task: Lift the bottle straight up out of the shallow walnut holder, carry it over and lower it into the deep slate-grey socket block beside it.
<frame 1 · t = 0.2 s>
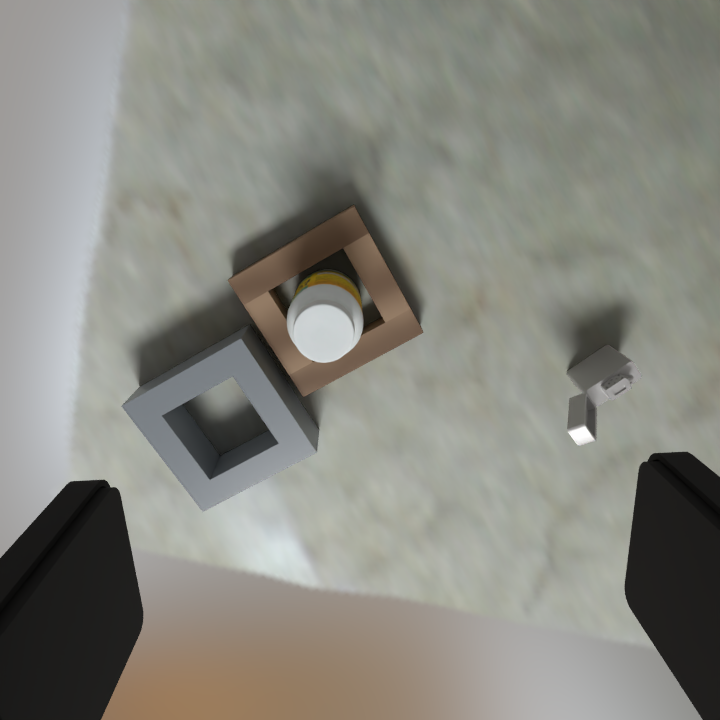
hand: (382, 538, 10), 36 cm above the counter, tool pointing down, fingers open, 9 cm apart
lighter: (575, 374, 49), on the counter
socket block: (230, 409, 49), on the counter
shallow holder: (328, 301, 46), on the counter
supplement bottle: (328, 300, 46), resting in shallow holder
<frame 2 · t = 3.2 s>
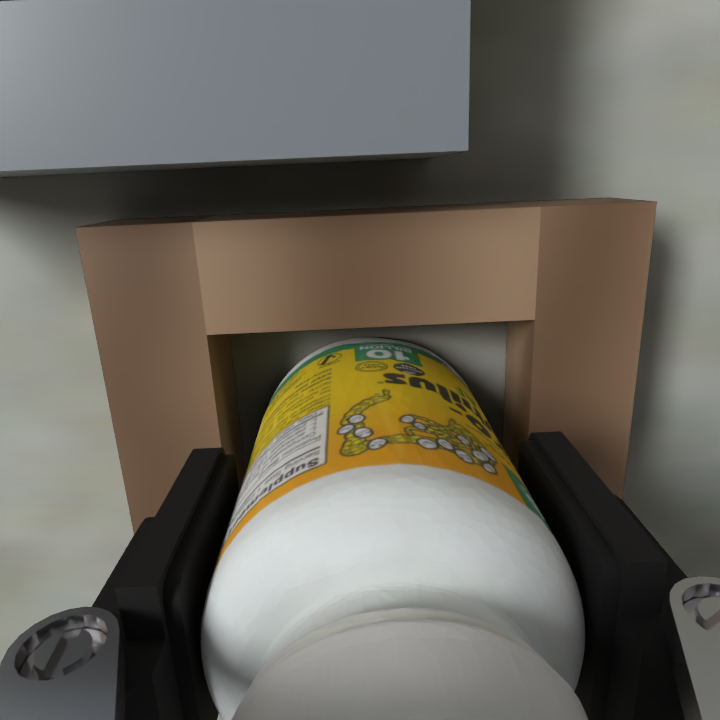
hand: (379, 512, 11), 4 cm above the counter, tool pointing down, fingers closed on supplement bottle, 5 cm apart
shallow holder: (372, 433, 14), on the counter
supplement bottle: (372, 430, 15), resting in shallow holder, touching gripper
when the fingers open (5 cm above the counter, at t = 9.6 s): supplement bottle drops 2 cm, resting in socket block.
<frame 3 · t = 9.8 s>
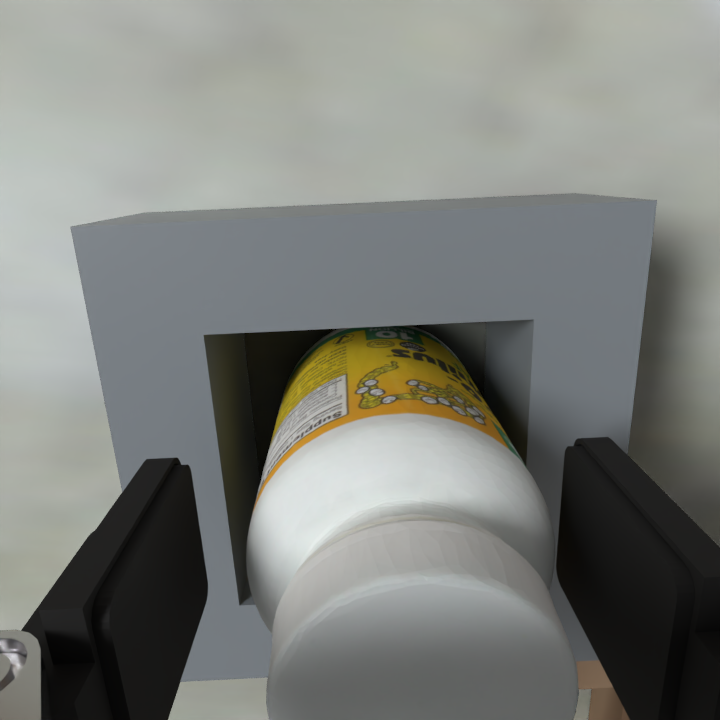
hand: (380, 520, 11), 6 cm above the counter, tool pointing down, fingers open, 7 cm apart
socket block: (368, 403, 16), on the counter
shallow holder: (495, 715, 20), on the counter
supplement bottle: (378, 404, 16), resting in socket block
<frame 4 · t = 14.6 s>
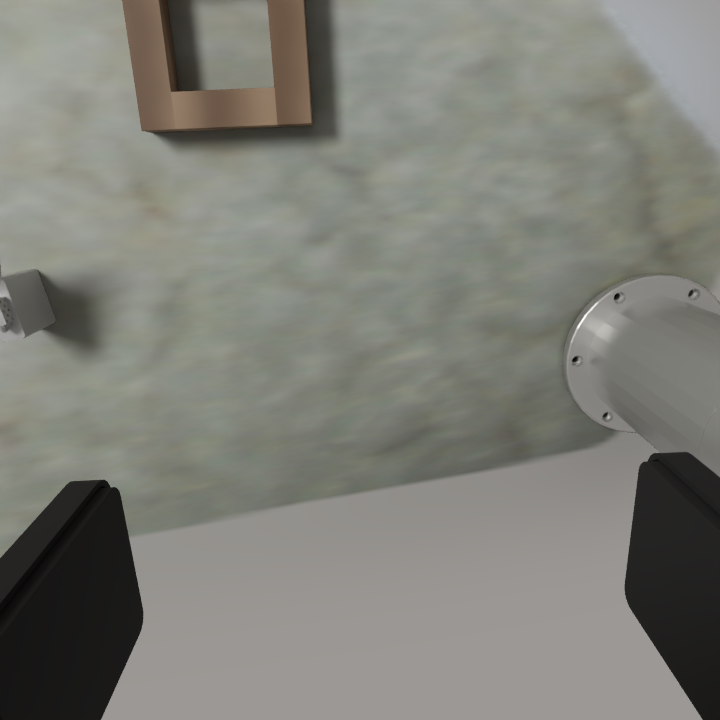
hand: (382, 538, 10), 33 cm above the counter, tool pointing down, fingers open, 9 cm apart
lighter: (30, 277, 42), on the counter
shallow holder: (223, 38, 37), on the counter
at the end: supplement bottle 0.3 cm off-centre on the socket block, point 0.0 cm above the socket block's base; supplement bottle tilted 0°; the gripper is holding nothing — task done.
